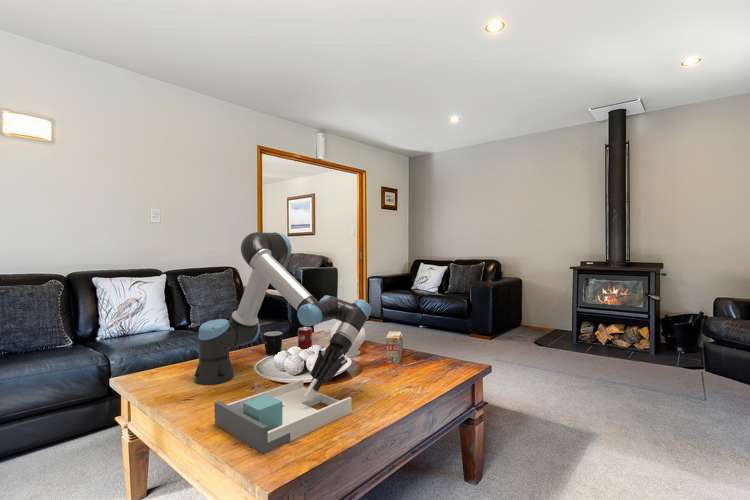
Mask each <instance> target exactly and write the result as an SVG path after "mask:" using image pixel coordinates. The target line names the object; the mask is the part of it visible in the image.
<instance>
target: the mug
mask: <svg viewBox="0 0 750 500" xmlns="http://www.w3.org/2000/svg"><path fill="white" fill-rule="evenodd" d="M263 340H264V341H263V342H264V350H265V353H266V355H267V356H276V355H275V354H277V353H278V352H280V353H281V351H282V345H283V344H282V343H283V332H281V331H267V332H264V334H263ZM277 355H278V354H277Z"/></svg>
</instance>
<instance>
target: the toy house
mask: <svg viewBox="0 0 750 500" xmlns="http://www.w3.org/2000/svg"><path fill="white" fill-rule="evenodd" d="M403 343H404V338H403V333H402V332H401V331H391V330H390V331H388V334H387V335H386V337H385V363H386V364H397V363H398V364H400V362H401V358H402V354H403V345H404V344H403ZM398 364H397V365H398Z"/></svg>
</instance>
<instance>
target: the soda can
mask: <svg viewBox="0 0 750 500" xmlns="http://www.w3.org/2000/svg"><path fill="white" fill-rule="evenodd" d="M311 346H312V347H313V328H312V326H302V327H299V328H298V330H297V348H298V347H300V348H301V349H307V348H309V347H311Z"/></svg>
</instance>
